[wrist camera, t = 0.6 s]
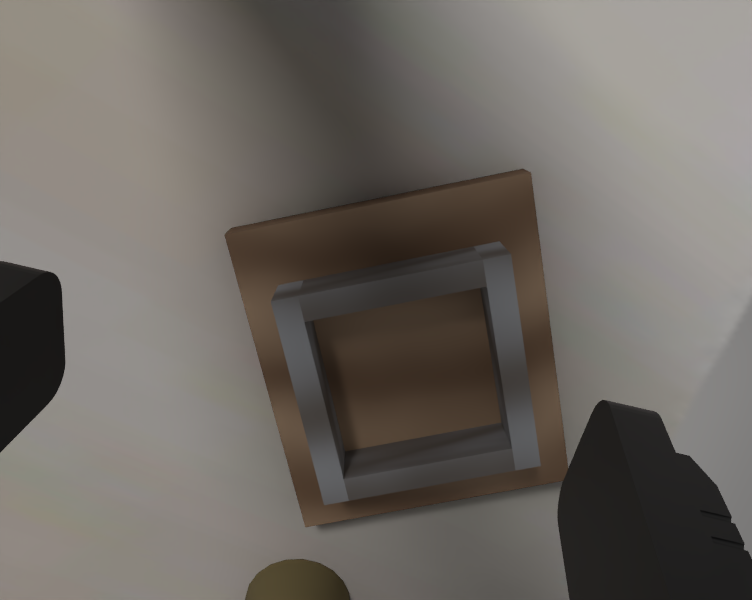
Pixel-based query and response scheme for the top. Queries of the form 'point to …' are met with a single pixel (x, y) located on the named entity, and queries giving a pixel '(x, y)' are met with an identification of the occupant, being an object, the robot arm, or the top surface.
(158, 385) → the top surface
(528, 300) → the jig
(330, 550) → the top surface
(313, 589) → the cork
